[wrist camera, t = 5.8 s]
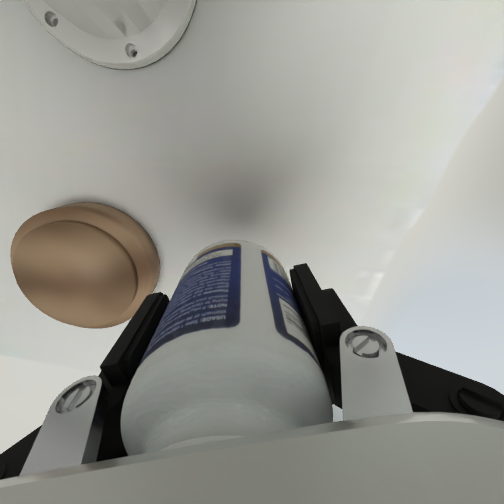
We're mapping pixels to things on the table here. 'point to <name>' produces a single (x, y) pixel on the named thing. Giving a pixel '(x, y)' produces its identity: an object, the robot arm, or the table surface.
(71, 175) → the table surface
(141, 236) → the walnut stand
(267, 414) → the pill bottle
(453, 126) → the table surface
